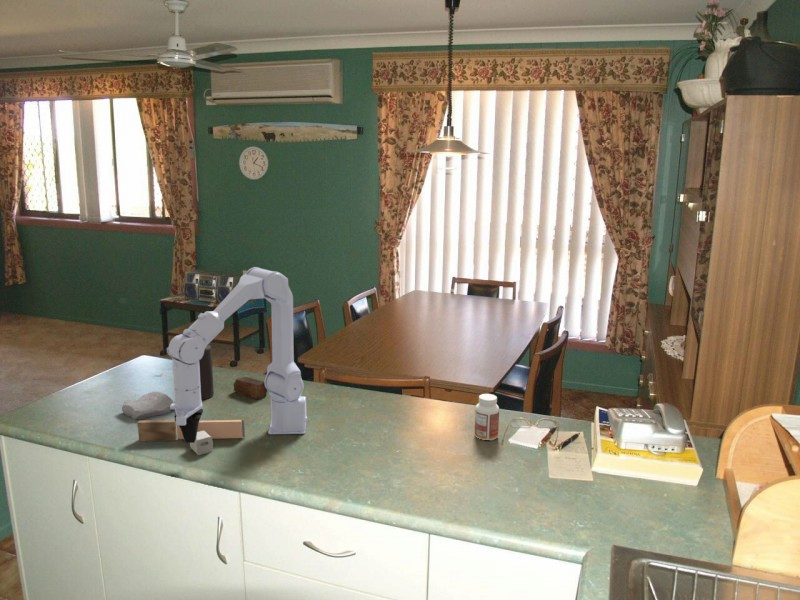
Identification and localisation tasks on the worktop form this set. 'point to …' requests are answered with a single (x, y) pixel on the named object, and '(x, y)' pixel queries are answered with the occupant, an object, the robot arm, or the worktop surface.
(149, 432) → the brown wooden board
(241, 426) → the light wood thin slab
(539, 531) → the worktop surface
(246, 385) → the brick
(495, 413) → the pill bottle
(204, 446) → the usb wall charger
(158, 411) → the stone block
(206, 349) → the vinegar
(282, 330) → the robot arm
